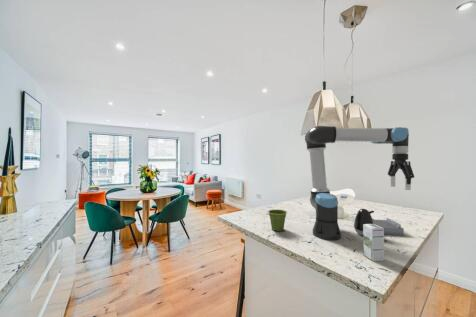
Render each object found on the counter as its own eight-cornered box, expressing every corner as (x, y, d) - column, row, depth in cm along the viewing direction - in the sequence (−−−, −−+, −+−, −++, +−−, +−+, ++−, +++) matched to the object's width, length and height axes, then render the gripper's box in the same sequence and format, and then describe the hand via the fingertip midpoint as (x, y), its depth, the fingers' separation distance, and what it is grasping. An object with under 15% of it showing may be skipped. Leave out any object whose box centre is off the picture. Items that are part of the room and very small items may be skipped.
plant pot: (285, 226, 129) (285, 209, 129) (288, 233, 117) (288, 214, 117) (267, 226, 130) (267, 208, 130) (268, 232, 118) (268, 214, 118)
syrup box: (384, 261, 85) (384, 227, 85) (372, 261, 85) (372, 228, 85) (374, 254, 91) (374, 223, 91) (362, 255, 91) (362, 223, 91)
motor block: (373, 233, 116) (373, 224, 116) (358, 223, 136) (358, 214, 136) (403, 235, 114) (403, 225, 114) (383, 224, 134) (383, 215, 134)
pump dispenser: (378, 238, 109) (378, 211, 109) (357, 237, 111) (357, 210, 111) (370, 232, 119) (370, 207, 119) (351, 230, 121) (351, 206, 121)
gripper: (423, 152, 107) (422, 191, 107) (393, 153, 132) (393, 185, 132) (407, 152, 108) (407, 191, 108) (381, 153, 133) (381, 185, 133)
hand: (399, 188), depth 120 cm, fingers open, 13 cm apart
